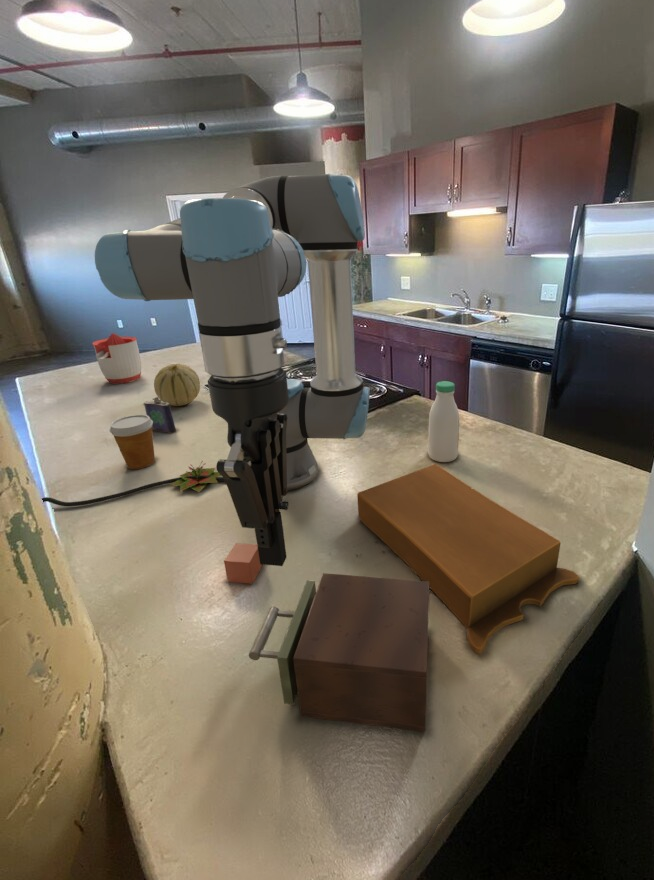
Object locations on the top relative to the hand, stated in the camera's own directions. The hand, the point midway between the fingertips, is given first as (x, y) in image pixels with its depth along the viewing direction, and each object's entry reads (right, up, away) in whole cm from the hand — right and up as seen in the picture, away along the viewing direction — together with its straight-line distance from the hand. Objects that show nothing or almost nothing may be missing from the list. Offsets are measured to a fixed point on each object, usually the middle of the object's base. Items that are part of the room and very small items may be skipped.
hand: (273, 560), depth 50 cm
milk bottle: (+29, +4, +60) cm, 66 cm away
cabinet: (+11, -17, +5) cm, 21 cm away
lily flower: (-31, 0, +50) cm, 59 cm away
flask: (-55, +10, +78) cm, 96 cm away
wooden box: (+26, -8, +27) cm, 38 cm away
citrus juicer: (-97, +27, +126) cm, 161 cm away
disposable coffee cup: (-50, +3, +59) cm, 77 cm away
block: (-11, -11, +22) cm, 27 cm away
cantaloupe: (-59, +18, +98) cm, 116 cm away
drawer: (+6, -16, +5) cm, 18 cm away
